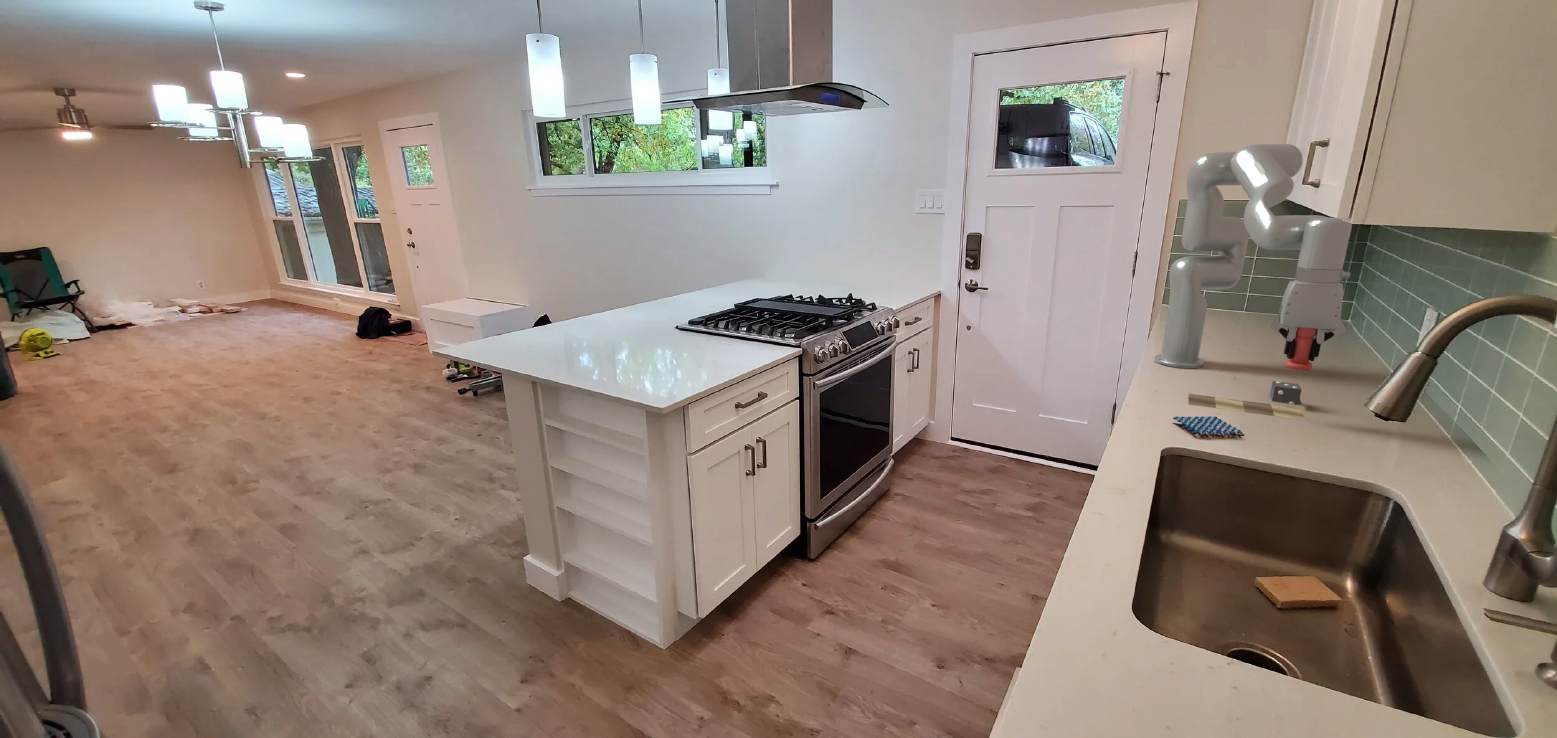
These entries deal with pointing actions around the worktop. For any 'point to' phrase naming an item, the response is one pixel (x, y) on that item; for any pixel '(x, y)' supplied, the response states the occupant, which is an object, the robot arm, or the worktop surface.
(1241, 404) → the board
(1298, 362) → the pawn
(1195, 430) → the woven mat
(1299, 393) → the die
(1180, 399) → the worktop surface
